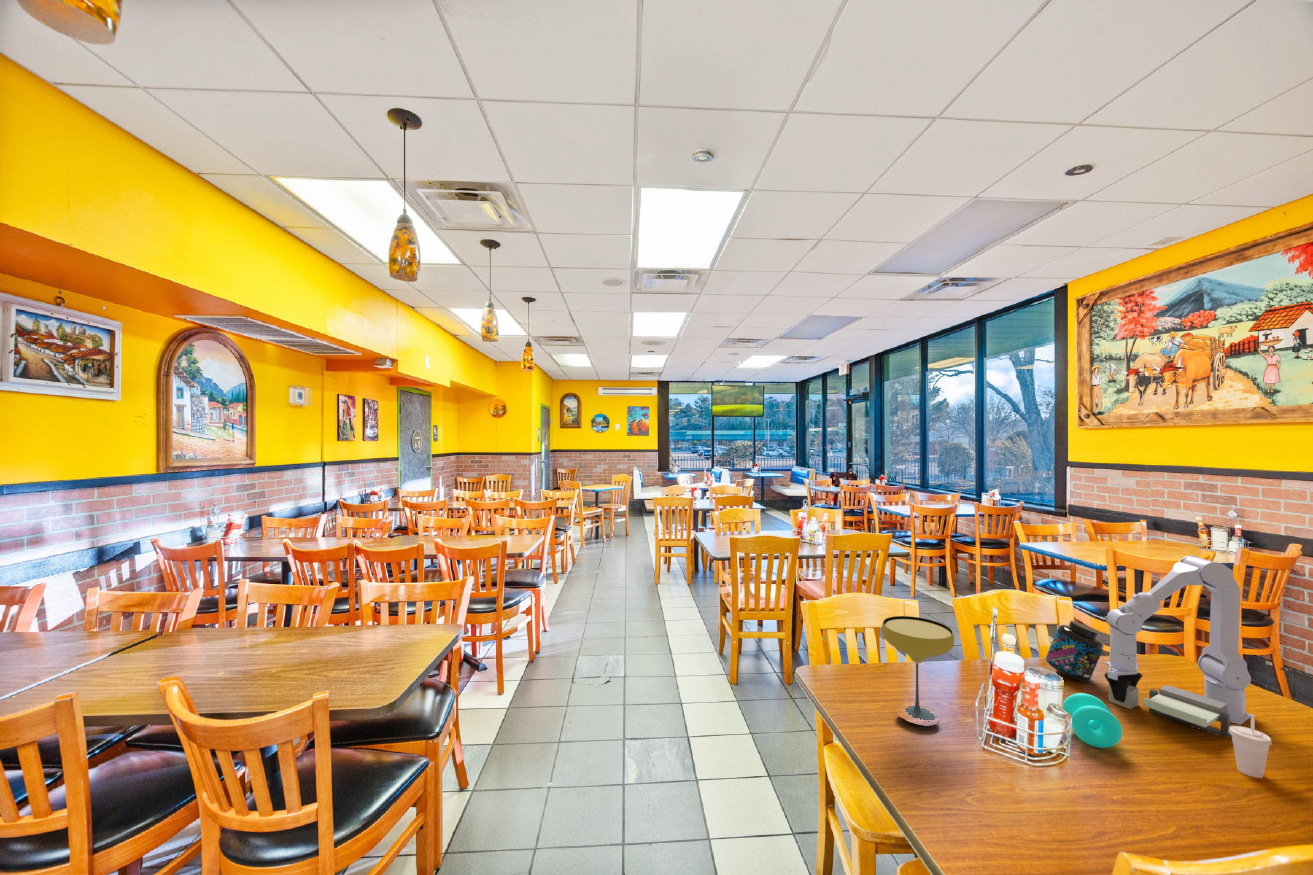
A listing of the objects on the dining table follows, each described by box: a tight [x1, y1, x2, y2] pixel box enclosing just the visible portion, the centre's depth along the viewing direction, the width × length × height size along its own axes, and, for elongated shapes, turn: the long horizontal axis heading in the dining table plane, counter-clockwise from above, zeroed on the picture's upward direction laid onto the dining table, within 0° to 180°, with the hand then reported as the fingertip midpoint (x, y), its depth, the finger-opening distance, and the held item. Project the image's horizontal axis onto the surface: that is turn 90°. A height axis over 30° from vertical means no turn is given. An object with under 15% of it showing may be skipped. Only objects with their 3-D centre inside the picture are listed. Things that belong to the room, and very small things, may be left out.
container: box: [1045, 620, 1104, 682], centre depth 164 cm, size 12×12×17 cm
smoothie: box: [1229, 713, 1273, 779], centre depth 116 cm, size 6×6×14 cm
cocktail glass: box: [881, 615, 955, 722], centre depth 141 cm, size 18×18×25 cm
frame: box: [1148, 688, 1232, 739], centre depth 137 cm, size 2×15×6 cm, turn 28°
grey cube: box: [1108, 683, 1140, 710], centre depth 148 cm, size 5×5×5 cm
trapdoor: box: [1142, 684, 1228, 727], centre depth 136 cm, size 16×12×4 cm
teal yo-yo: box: [1062, 692, 1123, 749], centre depth 130 cm, size 10×10×10 cm
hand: (1123, 698), depth 148 cm, fingers closed on grey cube, 5 cm apart
